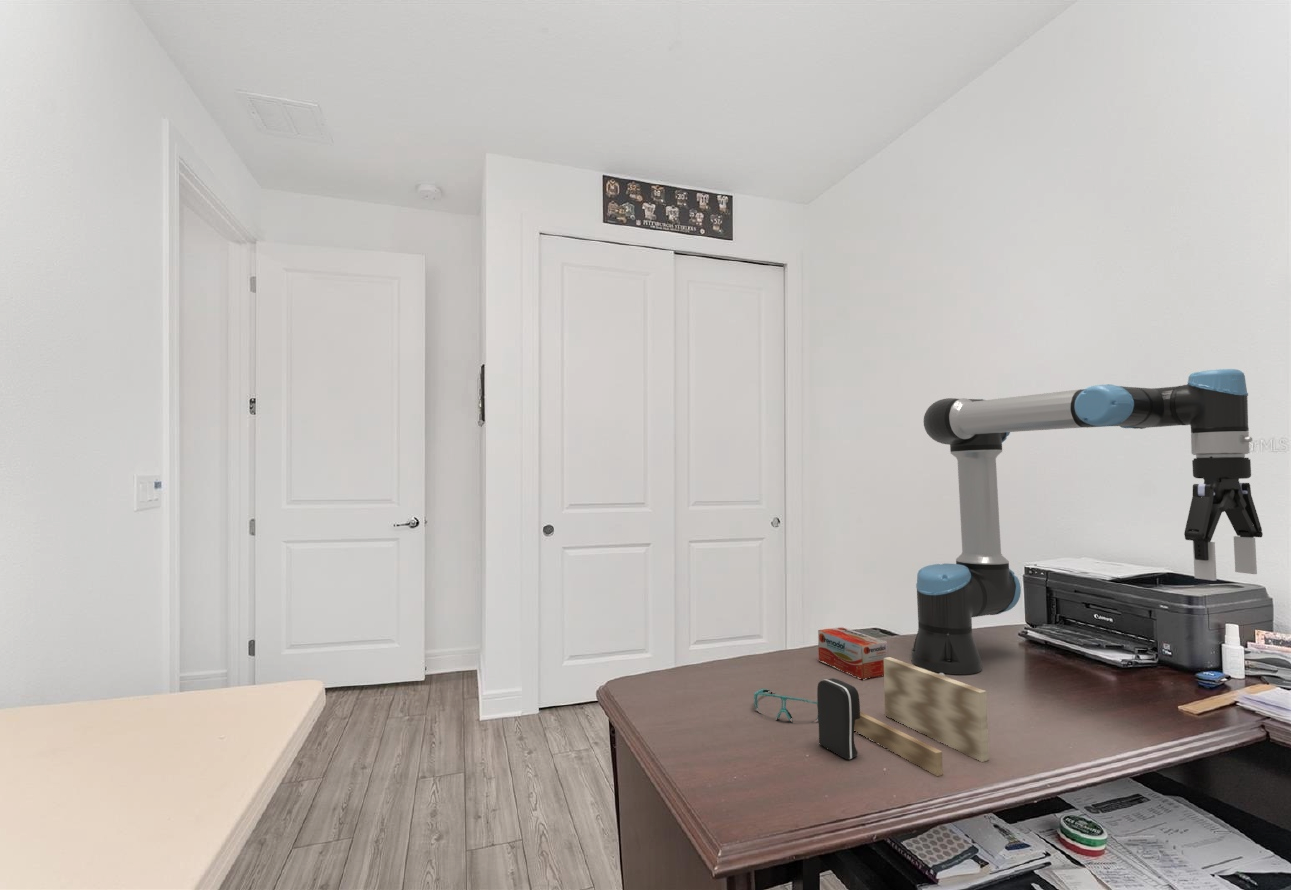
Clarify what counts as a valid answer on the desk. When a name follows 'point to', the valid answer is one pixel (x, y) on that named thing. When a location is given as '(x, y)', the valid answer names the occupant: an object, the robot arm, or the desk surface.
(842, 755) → the battery charger
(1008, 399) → the robot arm
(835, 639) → the medicine box
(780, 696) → the sunglasses
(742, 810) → the desk surface
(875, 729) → the wooden boards
